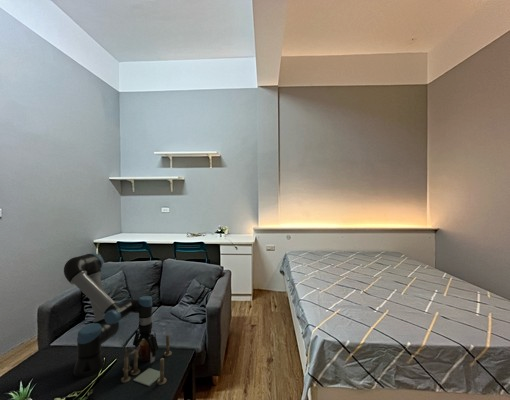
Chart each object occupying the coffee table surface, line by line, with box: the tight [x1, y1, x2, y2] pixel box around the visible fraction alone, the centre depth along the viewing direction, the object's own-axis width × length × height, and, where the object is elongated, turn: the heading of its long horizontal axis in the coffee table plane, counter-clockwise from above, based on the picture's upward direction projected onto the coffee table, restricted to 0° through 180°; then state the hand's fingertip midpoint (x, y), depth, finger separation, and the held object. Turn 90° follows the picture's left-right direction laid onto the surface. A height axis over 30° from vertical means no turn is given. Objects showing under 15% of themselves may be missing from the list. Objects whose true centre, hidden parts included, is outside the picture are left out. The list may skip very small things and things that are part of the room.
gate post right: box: [156, 357, 168, 386], centre depth 143 cm, size 5×5×12 cm
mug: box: [138, 337, 151, 362], centre depth 162 cm, size 12×9×10 cm
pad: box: [133, 367, 160, 387], centre depth 146 cm, size 11×11×1 cm
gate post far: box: [163, 333, 173, 357], centre depth 168 cm, size 5×5×12 cm
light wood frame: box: [120, 346, 141, 383], centre depth 148 cm, size 11×11×13 cm
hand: (145, 359), depth 162 cm, fingers open, 11 cm apart
